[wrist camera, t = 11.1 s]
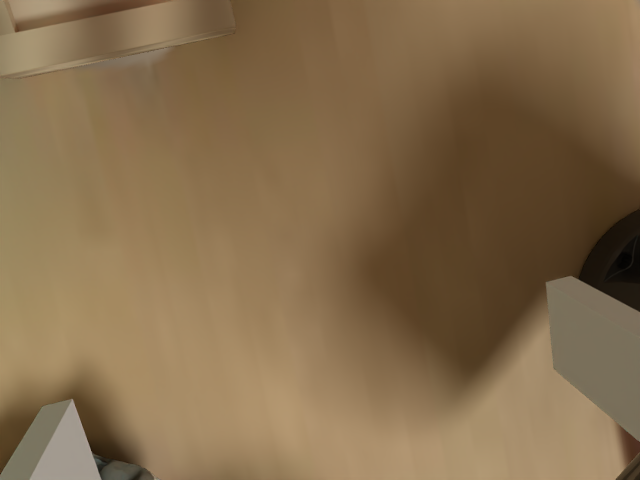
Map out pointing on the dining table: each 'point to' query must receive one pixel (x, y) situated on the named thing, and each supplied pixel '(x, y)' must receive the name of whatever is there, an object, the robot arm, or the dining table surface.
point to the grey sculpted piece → (121, 470)
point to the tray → (100, 30)
